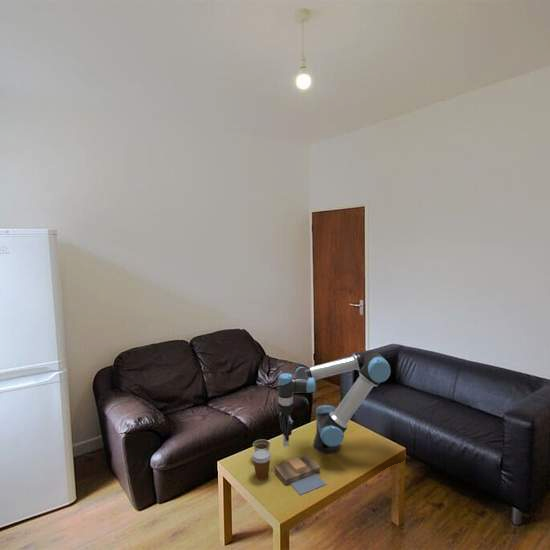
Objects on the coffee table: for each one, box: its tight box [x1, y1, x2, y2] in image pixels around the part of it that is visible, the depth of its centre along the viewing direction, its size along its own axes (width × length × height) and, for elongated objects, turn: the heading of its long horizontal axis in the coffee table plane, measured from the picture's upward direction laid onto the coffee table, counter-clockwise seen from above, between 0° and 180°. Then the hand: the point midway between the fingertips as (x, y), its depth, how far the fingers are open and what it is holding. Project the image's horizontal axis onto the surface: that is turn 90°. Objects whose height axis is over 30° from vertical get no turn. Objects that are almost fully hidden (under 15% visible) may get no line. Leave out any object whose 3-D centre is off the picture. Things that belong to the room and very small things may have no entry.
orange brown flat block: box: [286, 456, 306, 473], centre depth 185 cm, size 6×9×2 cm, turn 27°
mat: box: [289, 474, 327, 496], centre depth 176 cm, size 15×9×1 cm, turn 117°
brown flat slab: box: [273, 454, 321, 486], centre depth 185 cm, size 20×12×3 cm, turn 117°
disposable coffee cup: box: [251, 449, 272, 481], centre depth 182 cm, size 10×10×12 cm
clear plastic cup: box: [252, 439, 271, 452], centre depth 196 cm, size 9×9×9 cm
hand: (286, 445), depth 193 cm, fingers closed
